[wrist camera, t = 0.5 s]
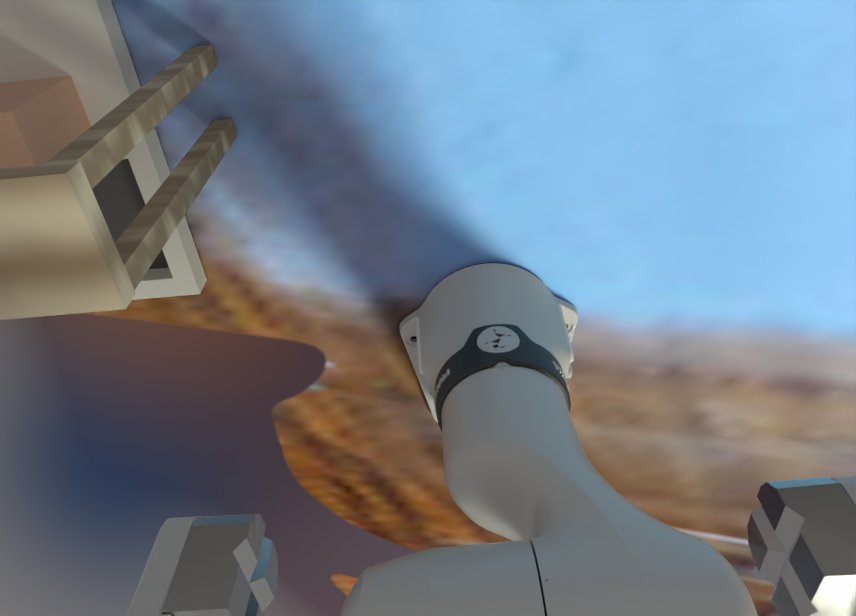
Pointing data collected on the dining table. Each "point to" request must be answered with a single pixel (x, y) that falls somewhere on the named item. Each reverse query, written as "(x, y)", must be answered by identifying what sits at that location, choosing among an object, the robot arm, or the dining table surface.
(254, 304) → the dining table surface
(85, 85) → the tray
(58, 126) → the block
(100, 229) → the arch
